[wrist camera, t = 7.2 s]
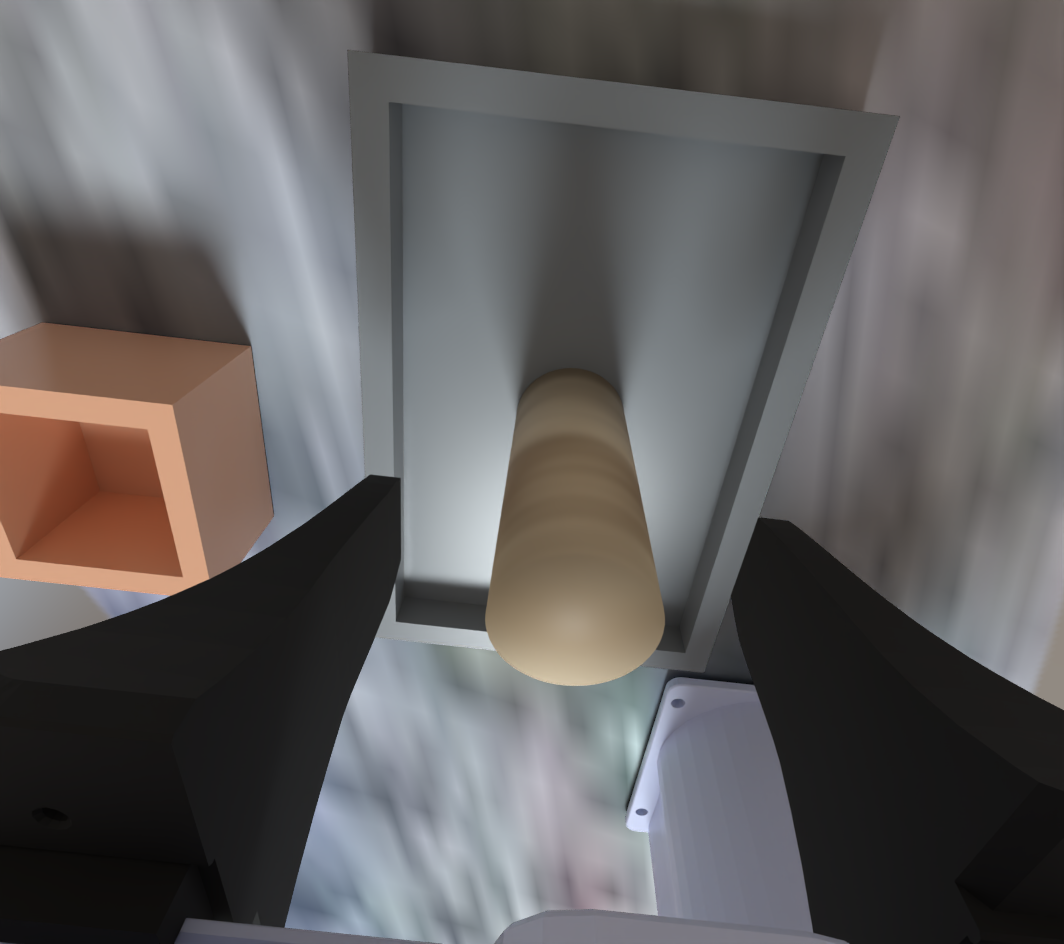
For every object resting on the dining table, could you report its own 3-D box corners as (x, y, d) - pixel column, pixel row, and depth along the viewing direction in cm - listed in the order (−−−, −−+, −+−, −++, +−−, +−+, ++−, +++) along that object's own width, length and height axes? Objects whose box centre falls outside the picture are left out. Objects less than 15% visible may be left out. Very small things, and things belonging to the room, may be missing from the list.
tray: (694, 633, 22) (704, 673, 20) (385, 599, 22) (371, 637, 20) (862, 115, 14) (900, 116, 12) (372, 56, 14) (347, 49, 12)
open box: (273, 516, 20) (213, 600, 17) (95, 496, 20) (-2, 576, 17) (250, 346, 17) (172, 404, 14) (42, 322, 17) (-90, 375, 14)
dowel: (614, 470, 18) (645, 693, 11) (511, 459, 18) (480, 675, 11) (633, 374, 16) (683, 563, 10) (521, 361, 16) (491, 543, 10)
